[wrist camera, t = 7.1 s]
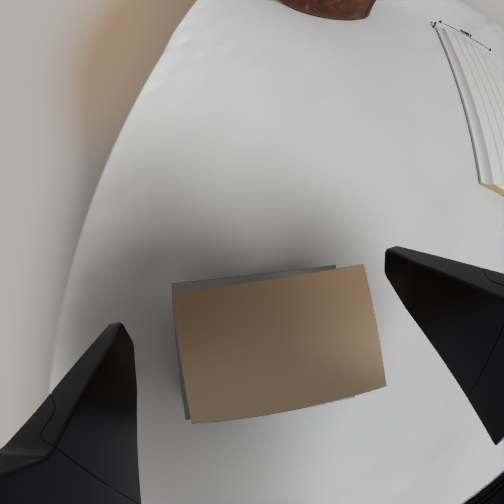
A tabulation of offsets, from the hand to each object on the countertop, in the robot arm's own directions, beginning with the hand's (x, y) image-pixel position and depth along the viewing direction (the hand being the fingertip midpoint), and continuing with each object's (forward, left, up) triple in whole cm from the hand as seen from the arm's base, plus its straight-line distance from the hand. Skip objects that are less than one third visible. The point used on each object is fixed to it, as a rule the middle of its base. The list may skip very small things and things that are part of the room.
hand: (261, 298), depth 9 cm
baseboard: (+21, -32, -10) cm, 39 cm away
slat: (-1, 0, -8) cm, 8 cm away
